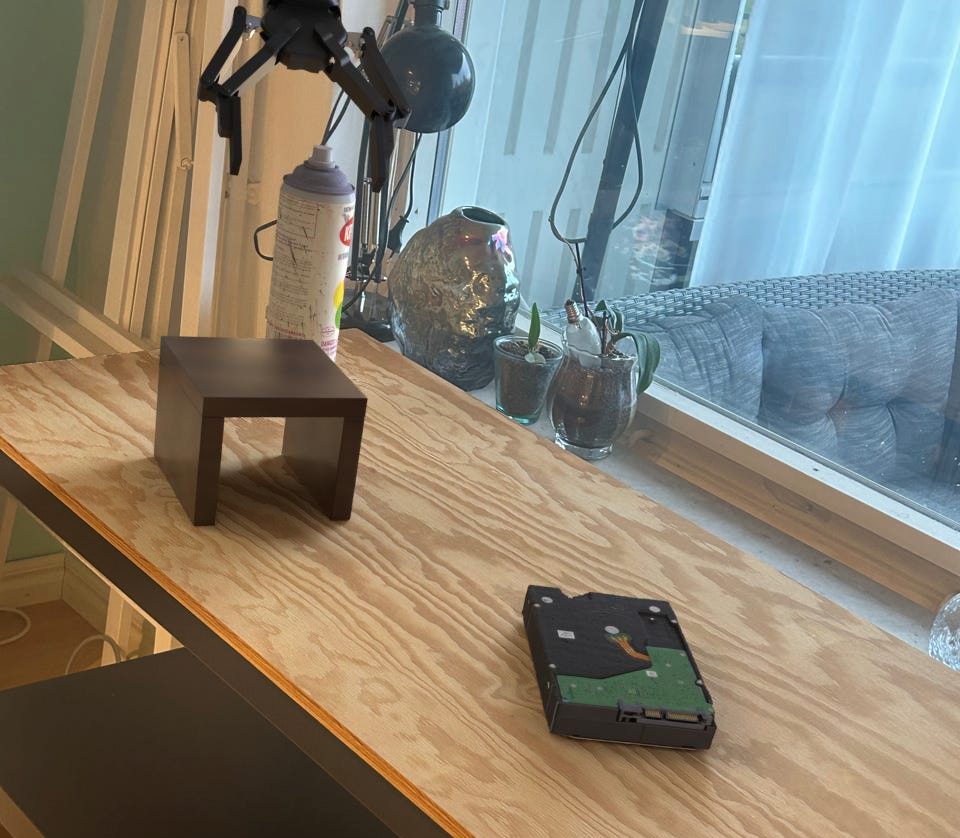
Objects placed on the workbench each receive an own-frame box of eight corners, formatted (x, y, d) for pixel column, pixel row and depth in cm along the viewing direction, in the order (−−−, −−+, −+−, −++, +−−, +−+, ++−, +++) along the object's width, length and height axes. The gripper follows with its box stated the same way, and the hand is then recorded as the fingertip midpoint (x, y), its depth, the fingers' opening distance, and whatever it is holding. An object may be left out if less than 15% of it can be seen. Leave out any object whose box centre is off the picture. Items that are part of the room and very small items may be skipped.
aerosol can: (337, 378, 126) (365, 161, 116) (265, 371, 124) (287, 150, 114) (331, 354, 131) (357, 144, 122) (261, 346, 130) (282, 133, 120)
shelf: (153, 456, 104) (160, 335, 99) (299, 454, 109) (313, 339, 104) (193, 526, 95) (203, 397, 90) (350, 520, 100) (368, 398, 95)
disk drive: (516, 618, 92) (548, 740, 79) (524, 582, 90) (558, 700, 78) (660, 633, 94) (713, 754, 81) (669, 598, 92) (725, 716, 79)
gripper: (414, 27, 137) (425, 212, 132) (167, -14, 129) (169, 182, 124) (434, -24, 130) (447, 170, 125) (174, -70, 122) (177, 135, 117)
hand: (308, 176), depth 125 cm, fingers open, 13 cm apart
